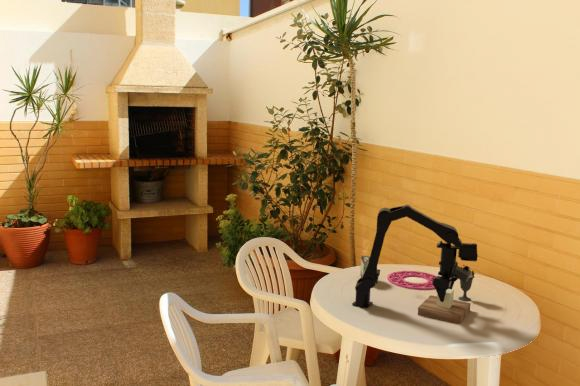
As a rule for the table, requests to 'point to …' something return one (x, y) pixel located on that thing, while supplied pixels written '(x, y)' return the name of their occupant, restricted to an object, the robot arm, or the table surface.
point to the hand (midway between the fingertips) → (445, 298)
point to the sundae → (466, 286)
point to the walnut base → (444, 310)
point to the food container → (364, 263)
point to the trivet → (414, 285)
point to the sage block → (446, 299)
